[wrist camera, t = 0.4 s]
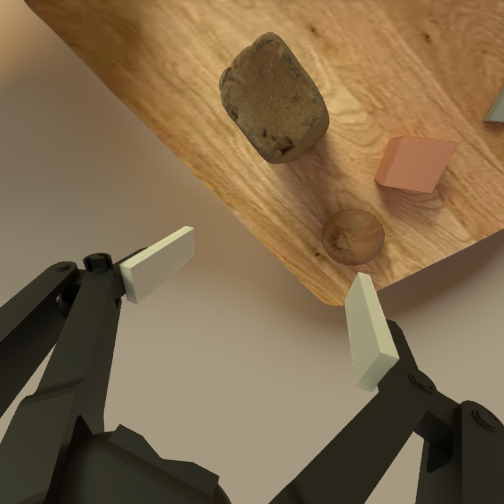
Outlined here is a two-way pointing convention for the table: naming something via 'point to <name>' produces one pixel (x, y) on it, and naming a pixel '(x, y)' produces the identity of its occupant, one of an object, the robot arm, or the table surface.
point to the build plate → (497, 109)
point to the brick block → (414, 163)
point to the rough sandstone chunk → (273, 100)
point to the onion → (353, 237)
